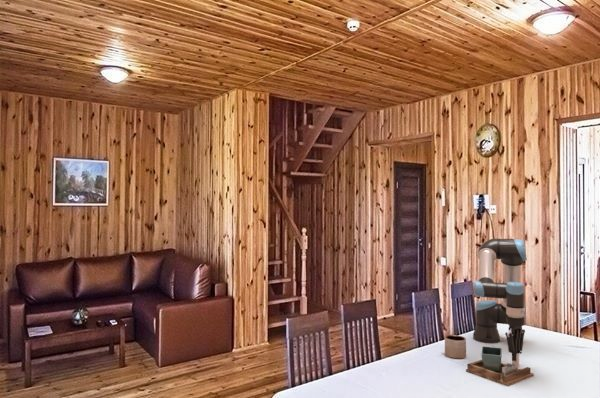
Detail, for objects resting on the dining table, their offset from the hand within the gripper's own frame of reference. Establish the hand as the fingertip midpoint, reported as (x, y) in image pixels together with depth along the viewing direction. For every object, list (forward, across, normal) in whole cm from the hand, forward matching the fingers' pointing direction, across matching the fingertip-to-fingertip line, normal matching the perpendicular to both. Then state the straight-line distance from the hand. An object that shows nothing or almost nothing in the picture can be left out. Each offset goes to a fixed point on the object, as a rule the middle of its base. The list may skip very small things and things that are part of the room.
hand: (515, 367), depth 203 cm
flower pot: (+3, -2, +10) cm, 11 cm away
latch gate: (+3, -5, 0) cm, 6 cm away
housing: (+5, -2, +7) cm, 9 cm away
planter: (+5, +3, +35) cm, 36 cm away
